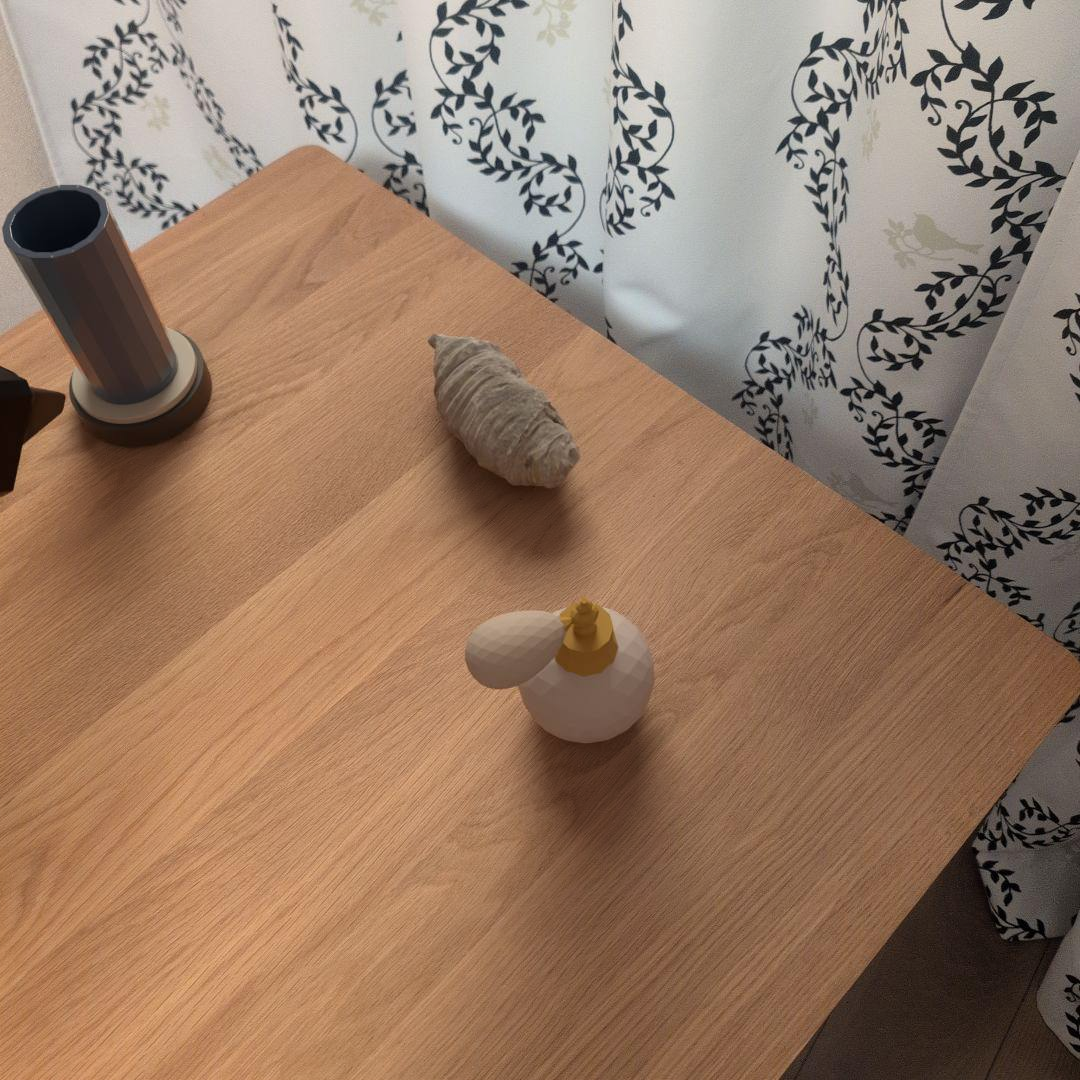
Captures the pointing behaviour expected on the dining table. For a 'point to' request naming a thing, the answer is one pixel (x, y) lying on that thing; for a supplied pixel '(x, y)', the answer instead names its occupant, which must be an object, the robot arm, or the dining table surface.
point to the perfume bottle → (567, 668)
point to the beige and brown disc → (149, 403)
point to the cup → (92, 291)
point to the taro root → (500, 413)
